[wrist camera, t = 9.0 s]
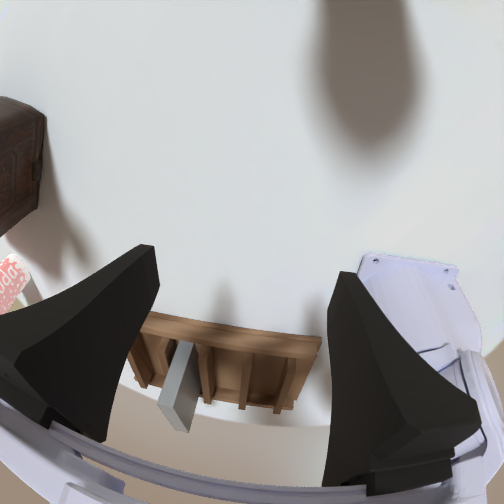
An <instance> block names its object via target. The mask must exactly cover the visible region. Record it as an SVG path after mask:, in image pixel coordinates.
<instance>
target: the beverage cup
mask: <svg viewBox="0 0 504 504" xmlns="http://www.w3.org/2000/svg"><path fill="white" fill-rule="evenodd" d="M29 280H30V273H29V270H28V268H27V266H26V264H25V263H24V262H23V261H22V259H21V258H19V257H18V256H17V255H15V254H10V255H9V256H7V257H6V258H5V259H4V260H3V261H2V262H1V263H0V315H1V314H5V313H6V312H7V311H8V309H9V308H10V306H11V305H12V303H13V302H14V300H15V299H16V298H17V296H18V295H19V294H20V292H21V291H22V290H23V288H24V287H25V286H26V284H27V283H28V282H29Z"/></svg>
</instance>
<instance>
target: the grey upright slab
mask: <svg viewBox="0 0 504 504" xmlns="http://www.w3.org/2000/svg"><path fill="white" fill-rule="evenodd" d="M198 358H199V357H198V353H197V350H196V346H195V343H191V342H186V341H181V340H180V341H179V344H178V346H177V349H176V352H175V354H174V357H173V360H172V363H171V365H170V368H169V371H168V374H167V376H166V379H165V382H164V385H163V387H162V390H161V393H160V396H159V399H158V402H157V405H158V406H159V408H160V409H161V411H162V412H163V414H164V415H165V417H166V418H167V419H168V421H169V422H170V424H171V425H172V426H173V428H174V429H175V430H177V431H182V432H186V433H189V430H190V427H191V422H192V419H193V416H194V412H195V408H196V404H197V401H198V397H199V393H200V390H201V386H202V385H201V378H200V370H199V363H198Z"/></svg>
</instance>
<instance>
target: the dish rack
mask: <svg viewBox="0 0 504 504" xmlns="http://www.w3.org/2000/svg"><path fill="white" fill-rule="evenodd" d="M180 340H181V341H186V342H191V343H195V346H196V350H197V353H198V357H199V358H198V363H199V370H200V378H201V385H202V386H201V390H200V393H199V397H203V398H204V403H207V404H211V401H212V399H213V400H219V401H224V402H230V403H237V404H239V408H238V409H241V410H245V407H246V405H250V406H257V407H266V408H274V410H273V414H280V412H281V410H282V409H284V410H292V409H293V403H294V400H297V398H298V396H299V393H300V391H301V389H302V387H303V385H304V382H305V380H306V378H307V376H308V373H309V371H310V369H311V367H312V364H313V362H314V360H315V358H316V356H317V352H318V350H319V347H320V345H321V343H322V338H321V337H313V336H303V335H294V334H286V333H277V332H270V331H262V330H255V329H248V328H241V327H234V326H228V325H222V324H216V323H210V322H204V321H198V320H193V319H188V318H182V317H177V316H172V315H167V314H162V313H157V312H153V311H150V312H149V314H148V316H147V318H146V320H145V322H144V324H143V325H142V327H141V329H140V331H139V333H138V335H137V337H136V339H135V341H134V343H133V345H132V347H131V349H130V351H129V354H128V356H127V359H128V361H129V363H130V365H131V368H132V370H133V372H134V374H135V377H134V379H135V381H138V382H139V384H140V386H141V388H145V389H147V387H148V384H149V385H153V386H156V387H160V388H162V387H163V385H164V382H165V379H166V376H167V374H168V371H169V368H170V365H171V363H172V360H173V357H174V354H175V352H176V349H177V346H178V344H179V341H180Z"/></svg>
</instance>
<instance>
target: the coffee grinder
mask: <svg viewBox="0 0 504 504" xmlns="http://www.w3.org/2000/svg"><path fill="white" fill-rule="evenodd" d="M43 126H44V114H43V113H41V112H39V111H38V110H36V109H35V108H33V107H32V106H30V105H27V104H25V103H22V102H19V101H17V100H14V99H11V98H8V97H4V96H0V237H1V236H3V235H4V234H5V233H6V232H7V231H8V230H9V229H11V228H12V227H13V226H14V225H15V224H17V223H18V222H19V221H20V220H21V219H23V218H24V217H25V216H26V215H28V214H29V213H30V212H32V211H33V210H36V209H37V206H38V192H39V183H40V175H41V166H42V144H43Z"/></svg>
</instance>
